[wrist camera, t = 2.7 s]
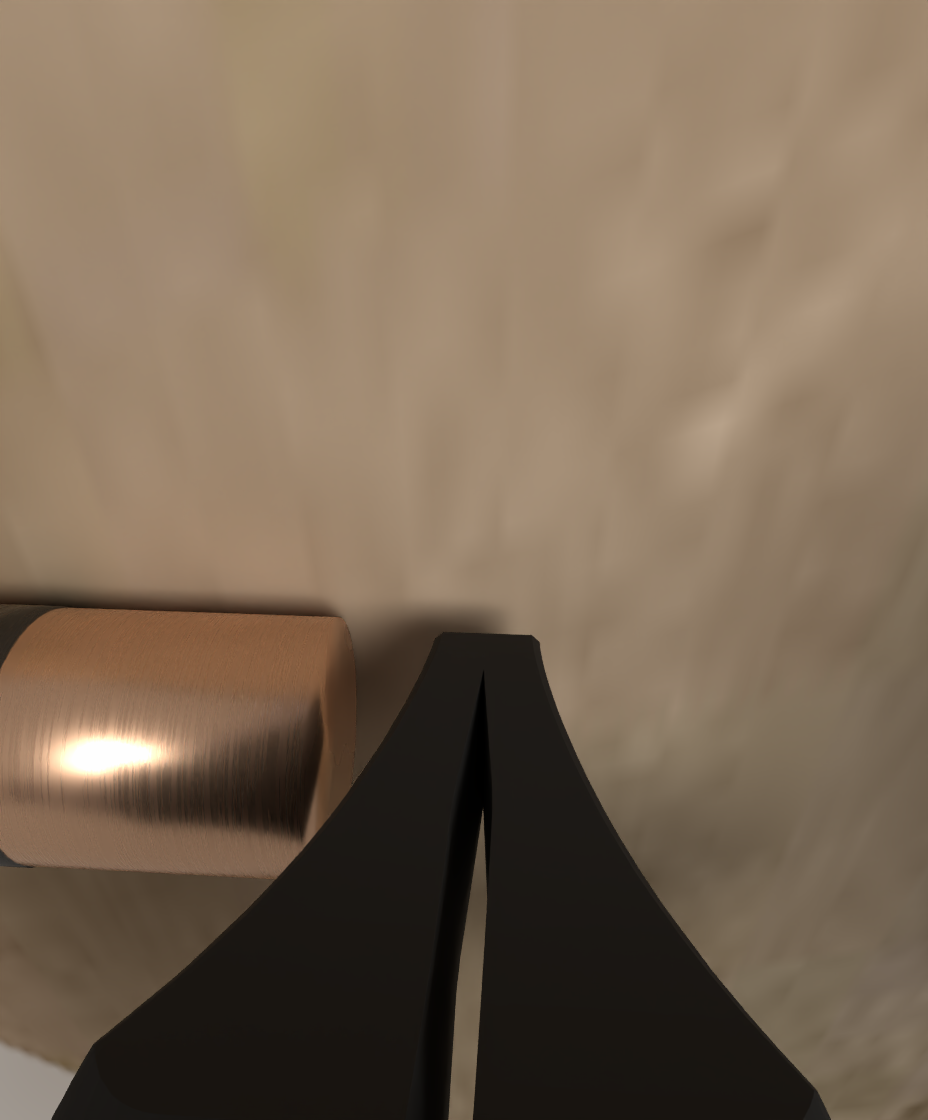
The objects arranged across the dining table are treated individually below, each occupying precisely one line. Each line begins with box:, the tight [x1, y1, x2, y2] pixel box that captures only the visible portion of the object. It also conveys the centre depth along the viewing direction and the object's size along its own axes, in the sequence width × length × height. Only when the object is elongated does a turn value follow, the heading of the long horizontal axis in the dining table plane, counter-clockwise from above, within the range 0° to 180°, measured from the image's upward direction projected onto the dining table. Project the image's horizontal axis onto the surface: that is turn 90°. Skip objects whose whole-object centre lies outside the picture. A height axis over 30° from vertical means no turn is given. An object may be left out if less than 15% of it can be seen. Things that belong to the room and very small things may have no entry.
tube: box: [0, 604, 357, 879], centre depth 12 cm, size 9×4×4 cm, turn 90°
